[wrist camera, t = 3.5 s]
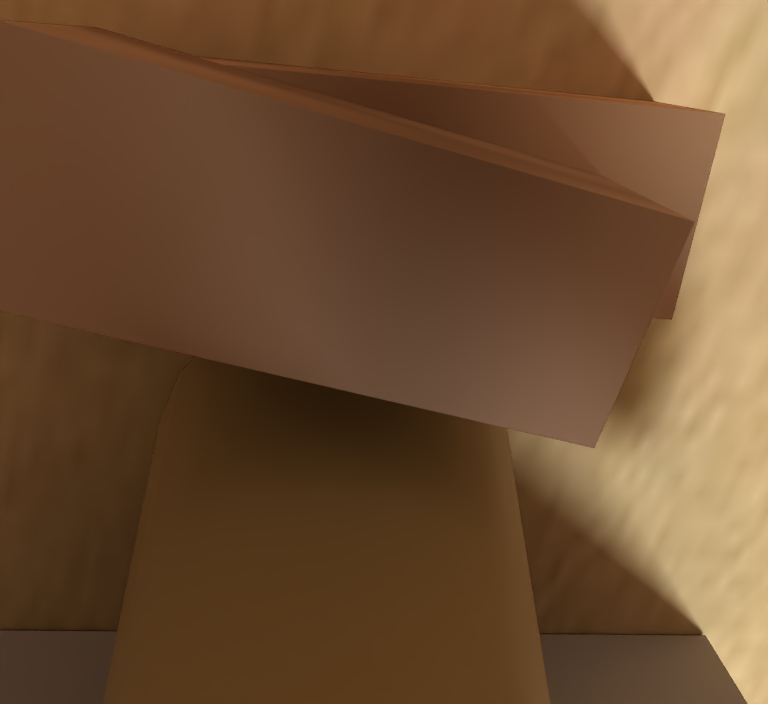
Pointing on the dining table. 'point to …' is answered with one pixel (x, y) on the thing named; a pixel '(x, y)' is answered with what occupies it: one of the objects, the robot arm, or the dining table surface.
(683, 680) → the board
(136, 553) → the cork
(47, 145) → the offcut top
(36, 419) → the dining table surface
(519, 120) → the offcut low
